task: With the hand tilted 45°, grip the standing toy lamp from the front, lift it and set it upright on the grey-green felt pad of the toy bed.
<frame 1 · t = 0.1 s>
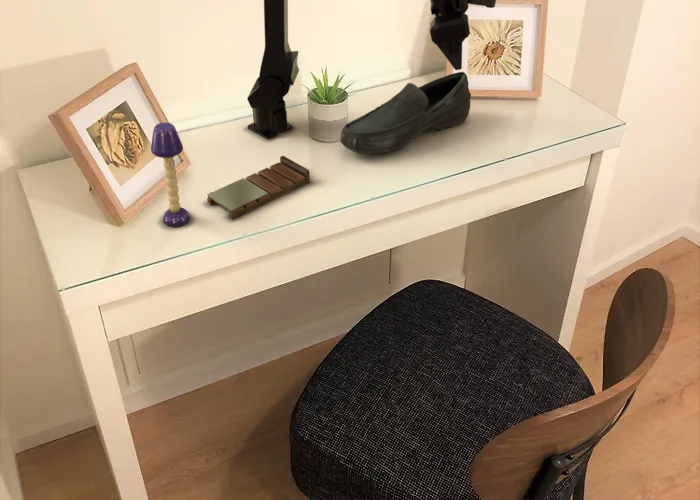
hand: (458, 58, 133), 15 cm above the table, tool pointing down, fingers open, 9 cm apart
toy bed: (257, 193, 127), on the table
loafer: (405, 135, 143), on the table
toy lamp: (178, 221, 121), on the table
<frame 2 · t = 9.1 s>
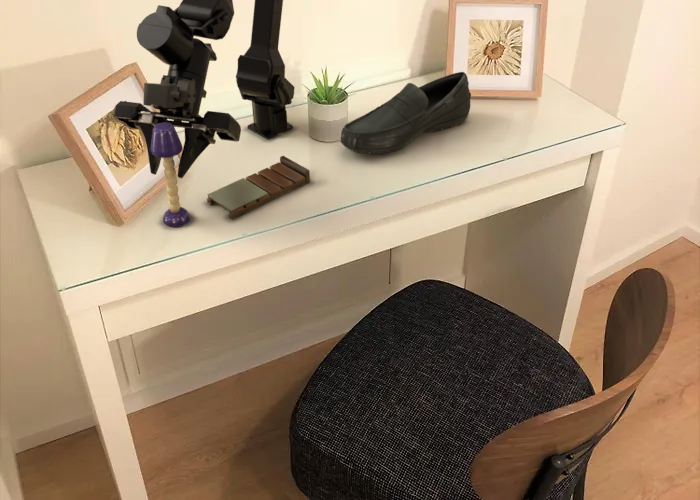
hand: (166, 175, 114), 9 cm above the table, tool tilted 45°, fingers closed on toy lamp, 4 cm apart
toy lamp: (178, 221, 121), on the table, touching gripper
everything else where it was.
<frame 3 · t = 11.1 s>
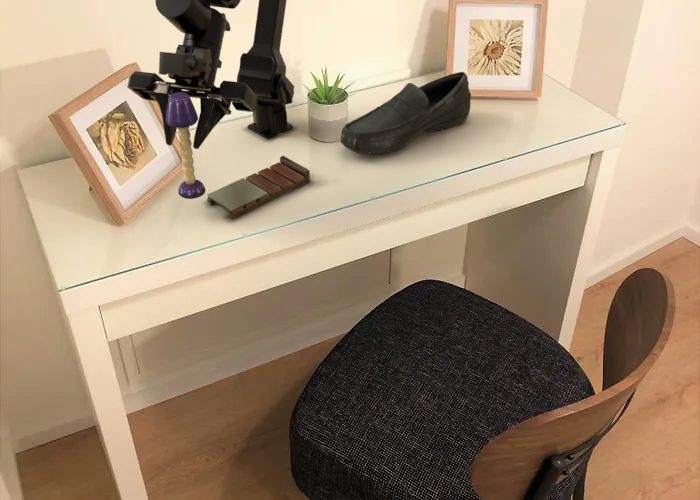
hand: (181, 146, 113), 13 cm above the table, tool tilted 45°, fingers closed on toy lamp, 4 cm apart
toy lamp: (194, 193, 120), point 4 cm above the table, touching gripper
everything else where it was.
when the fingers open (11 cm above the table, at t = 13.6 s): toy lamp stays where it is, resting on toy bed.
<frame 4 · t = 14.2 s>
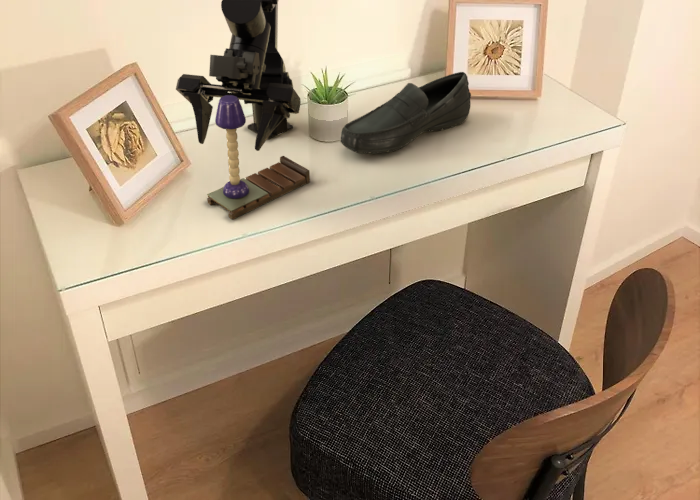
hand: (228, 146, 117), 11 cm above the table, tool tilted 45°, fingers open, 9 cm apart
toy lamp: (238, 193, 124), point 2 cm above the table, touching toy bed
everything else where it was.
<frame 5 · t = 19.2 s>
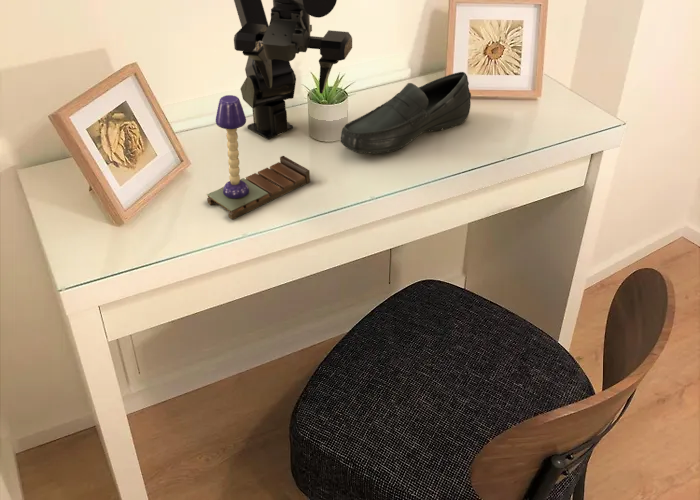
hand: (295, 89, 129), 13 cm above the table, tool pointing down, fingers open, 9 cm apart
nothing on the table moved.
at the end: toy lamp inside the target area on the toy bed (0.4 cm from its centre), point 1.5 cm above the toy bed's base; toy lamp tilted 1°; the gripper is holding nothing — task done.
